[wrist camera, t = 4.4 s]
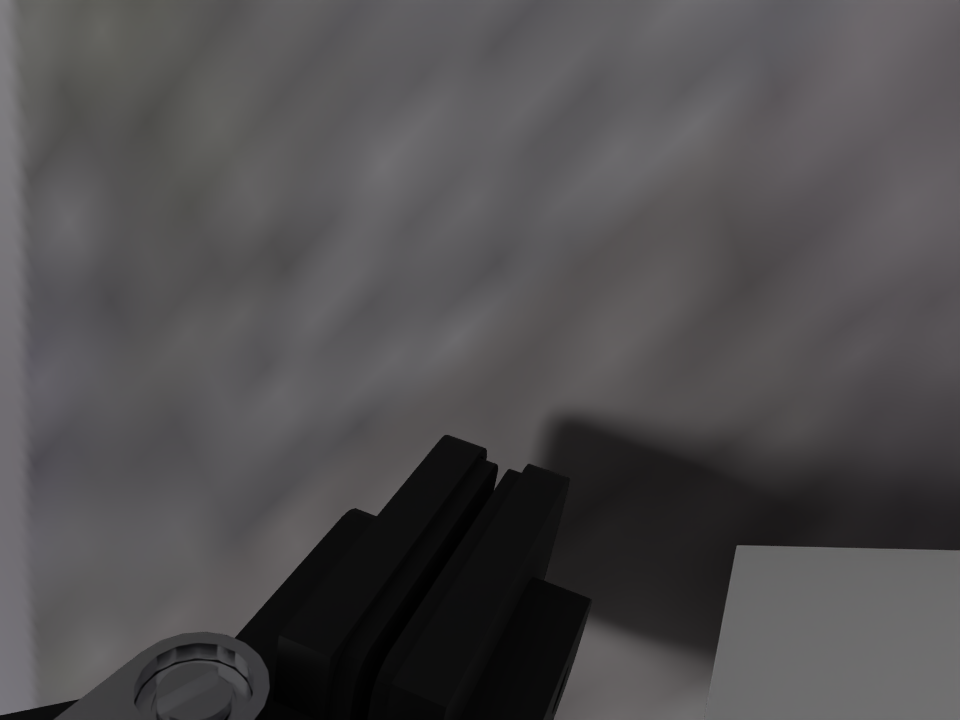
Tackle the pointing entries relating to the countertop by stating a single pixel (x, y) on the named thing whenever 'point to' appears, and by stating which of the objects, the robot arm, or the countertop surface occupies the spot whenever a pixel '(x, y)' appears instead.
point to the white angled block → (839, 635)
